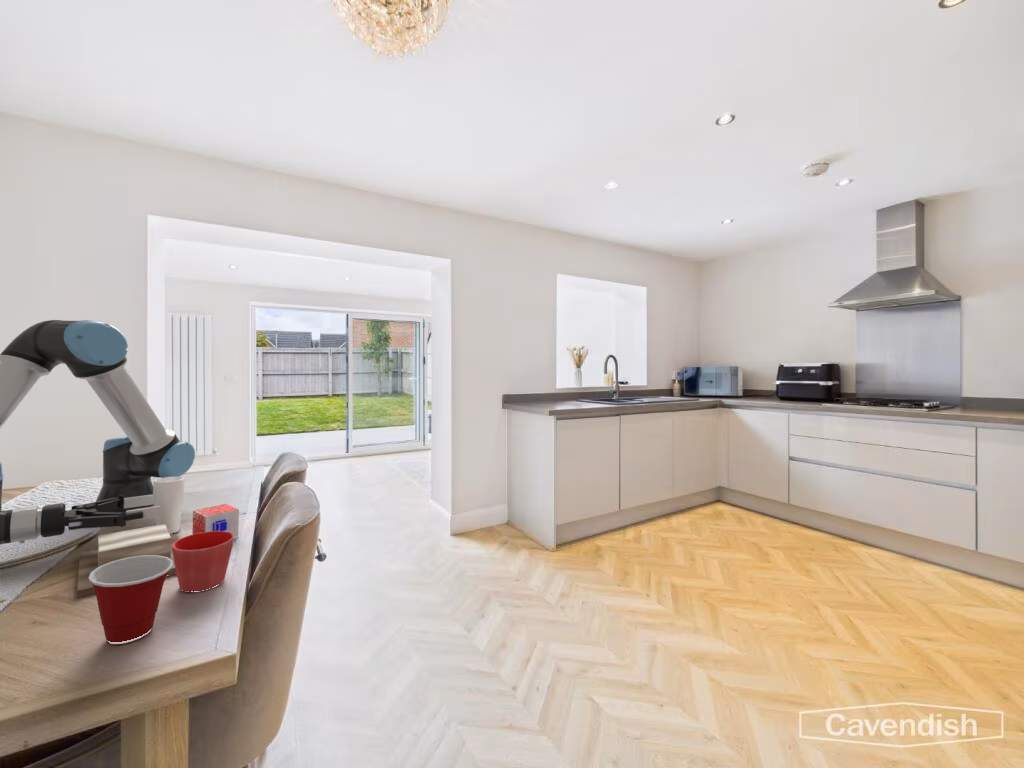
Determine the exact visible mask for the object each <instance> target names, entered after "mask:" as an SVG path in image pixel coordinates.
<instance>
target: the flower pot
mask: <svg viewBox="0 0 1024 768" xmlns="http://www.w3.org/2000/svg"><path fill="white" fill-rule="evenodd" d="M234 541H235V538H234V535H233V534H232V533H231V532H226V531H209V532H202V533H197V534H193V535H192V534H188V535H186V536H184V537H181V538H179V540H177V541H176V542H174V543H173V545H172V551H173V557H174V563H175V568H176V574H175V575H176V578H177V582H178V586H179V590H180V589H181V590H183V591H189V592H191V591H193V592H194V591H202V590H206V589H209V588H212V587H214V586H216V585H218V584H220V583H221V582H222V581H223V580H224V581H225V579H226V573H227V572H228V570H227V569H228V567H229V562H230V557H231V554H232V549H233V545H234ZM224 581H223V582H224ZM223 582H222V583H223ZM222 583H221V584H222ZM221 584H220V585H221ZM181 590H180V591H181ZM183 591H182V592H183Z"/></svg>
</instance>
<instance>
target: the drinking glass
mask: <svg viewBox="0 0 1024 768" xmlns="http://www.w3.org/2000/svg"><path fill="white" fill-rule="evenodd" d="M185 487H186V485H185V477H183V476H179V477H165V478H157V479H154V480H153V500H154V505H153V507H155V506H160V517H155V518H154V522H155V525H161V524H165V525H166V527H167V530H168V532H169V534H170V535H171V534H173V533H174V534H177V533H178V532H179V531H180V530H181V521H182V515H183V514H182V513H183V506H184V498H185Z"/></svg>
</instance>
